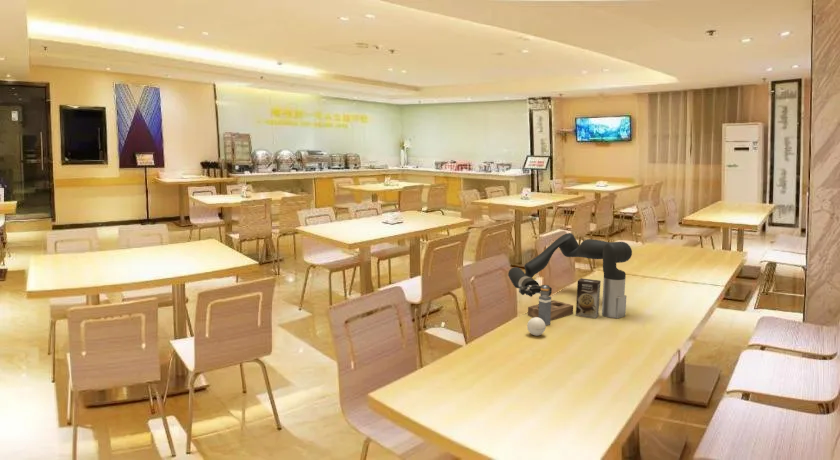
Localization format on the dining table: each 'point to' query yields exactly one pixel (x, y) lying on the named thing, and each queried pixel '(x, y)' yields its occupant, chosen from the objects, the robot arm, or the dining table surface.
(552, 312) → the block
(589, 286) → the coffee box
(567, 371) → the dining table surface
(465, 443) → the dining table surface
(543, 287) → the cylinder
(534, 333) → the seamed sphere
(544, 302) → the square bit
